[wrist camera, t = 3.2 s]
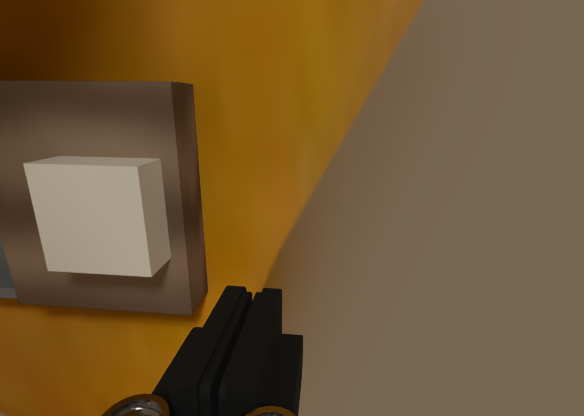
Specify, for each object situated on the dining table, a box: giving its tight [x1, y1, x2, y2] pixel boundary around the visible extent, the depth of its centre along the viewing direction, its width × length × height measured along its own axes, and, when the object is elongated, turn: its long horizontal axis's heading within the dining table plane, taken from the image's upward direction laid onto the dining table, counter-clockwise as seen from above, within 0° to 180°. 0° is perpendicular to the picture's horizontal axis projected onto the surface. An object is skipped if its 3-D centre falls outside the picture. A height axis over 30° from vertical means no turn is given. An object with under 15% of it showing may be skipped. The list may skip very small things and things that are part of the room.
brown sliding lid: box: [0, 81, 208, 315], centre depth 22 cm, size 14×12×3 cm
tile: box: [23, 156, 171, 277], centre depth 19 cm, size 6×6×2 cm
